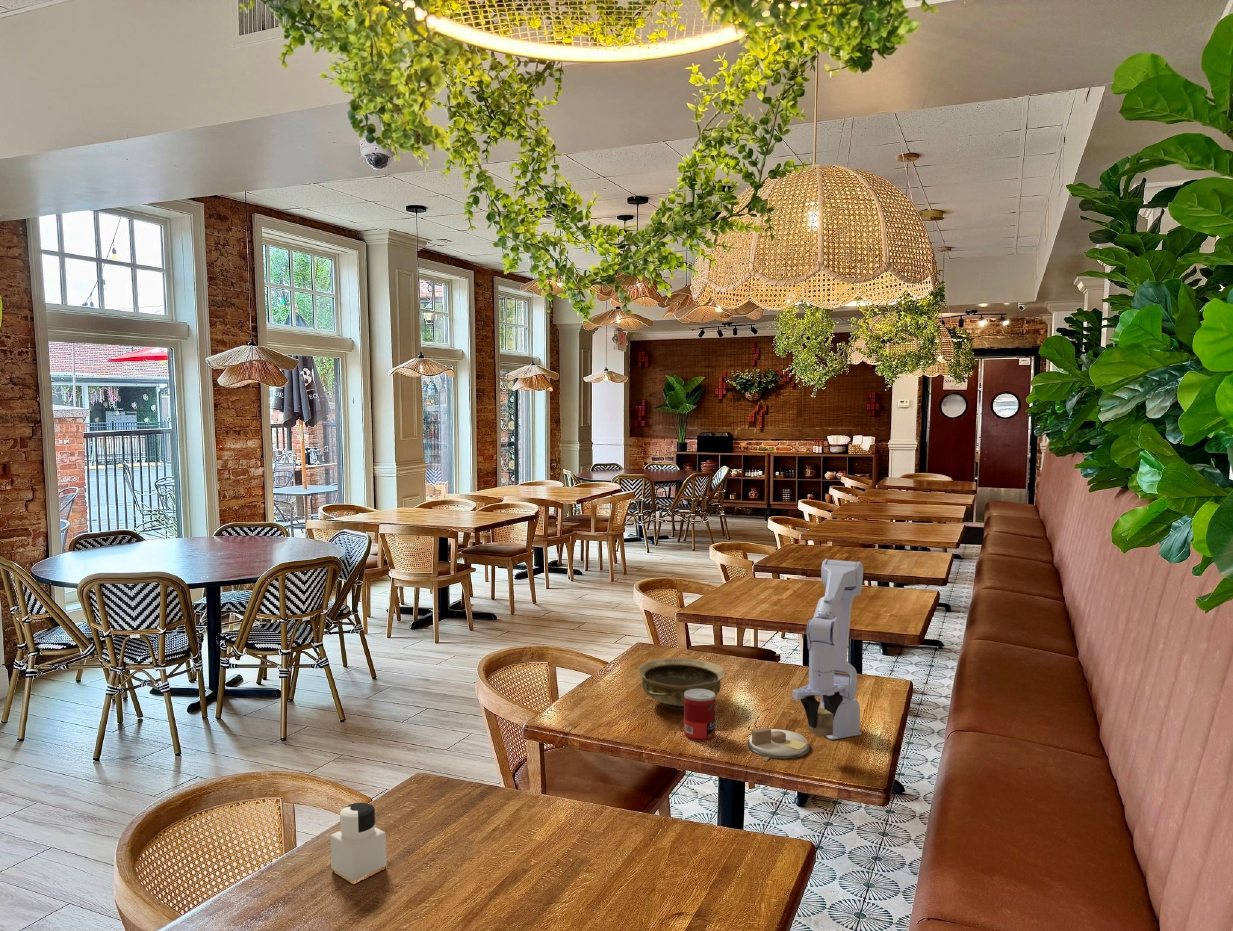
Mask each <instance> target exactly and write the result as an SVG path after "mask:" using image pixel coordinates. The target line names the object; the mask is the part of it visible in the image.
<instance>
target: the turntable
mask: <svg viewBox="0 0 1233 931" xmlns="http://www.w3.org/2000/svg"><path fill="white" fill-rule="evenodd" d="M748 740H749V743H750V746H751V747H752V748H753V749H754V750H756V751H758V752H760V753H763V754H767V755H772V756H783V757H784V756H795V755H799V754H801V753H803V752H805V751H806V750H807V743H808V739H807V738H806V737H804V736H803V735H802V734H800V733H798V732H795V731H790V730H786V729H777V728H776V729H775V728H773V729H772V728H769V727H763V728H755V729H752V730H751V735H749V739H748Z"/></svg>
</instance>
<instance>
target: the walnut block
mask: <svg viewBox="0 0 1233 931" xmlns="http://www.w3.org/2000/svg"><path fill="white" fill-rule="evenodd" d="M808 732H810V733H811V734H813V735H815V736H816V737H818V738H822V737H826V736H828V735H833V713H831V712H829V711H827V710H826V709H824V708H821V707H820V708H818V712H817V725H816V728H812V727H811V726H809V725H808Z"/></svg>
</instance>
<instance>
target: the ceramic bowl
mask: <svg viewBox="0 0 1233 931" xmlns="http://www.w3.org/2000/svg"><path fill="white" fill-rule="evenodd" d="M637 669H638V670H637V672H638V674H639V676H640V677H641V686H642V687H641V688H642V689H643V690H644V692H645V694H647V695H648V696H649V697H650V698H652V699H653V700H655V701H658V702H660V703H662V704H665V706H666V707H667V708H669V709H671V710H675V711H684V693H685V691H687V690H690V689H707V690H710V691H713V692H714V693H715V696H716V697H717V696H718V694H719V692H720V691H721V686H722V685H721V684H722V683H721V681H722V680H723V679H724V677H726V676H725V675H726V671H725V670H724V669H723V667H721V665H718V664H716V663H715V662H710V661H706V660H701V659H695V658H684V657H667V658H659V659H654V660H650V661H646V662H644V663H642V664H640V666H639V667H638V668H637Z"/></svg>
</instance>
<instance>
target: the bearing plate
mask: <svg viewBox="0 0 1233 931" xmlns="http://www.w3.org/2000/svg"><path fill="white" fill-rule="evenodd" d="M746 745H747V748H748V749H749V750H750V751H751V752H753V753H754V754H757V755H759V756H762V757H765V756H767V757H770V759H774V760H775V759H777V760H790V759H797V758H801V757H803V756H806V755H807V754H808V753H809V752H810V745H809V743H808V742H807V750H806V751H805V752H803V753H801V754H799V755H795V756H784V757H783V756H772V755H767V754H763V753H760V752H758V751H756V750H754V749H753V748H752V747H751V746H750V743H749V739H748V740H747V744H746Z"/></svg>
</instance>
